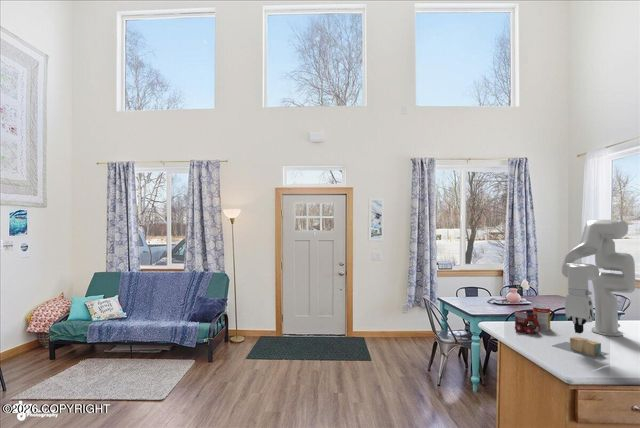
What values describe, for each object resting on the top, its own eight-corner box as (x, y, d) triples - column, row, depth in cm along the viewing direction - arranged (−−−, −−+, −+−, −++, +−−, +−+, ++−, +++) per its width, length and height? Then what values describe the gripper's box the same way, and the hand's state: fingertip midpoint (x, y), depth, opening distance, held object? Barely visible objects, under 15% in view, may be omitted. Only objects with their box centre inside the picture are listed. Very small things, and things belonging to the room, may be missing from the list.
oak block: (576, 336, 167) (601, 342, 158) (576, 347, 167) (601, 354, 158) (570, 337, 165) (595, 344, 156) (570, 348, 165) (595, 356, 156)
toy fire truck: (536, 336, 184) (536, 316, 184) (511, 330, 194) (511, 311, 194) (542, 334, 188) (542, 314, 188) (517, 328, 198) (517, 309, 198)
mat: (565, 342, 175) (565, 341, 175) (609, 354, 159) (609, 353, 159) (551, 346, 169) (551, 345, 169) (594, 359, 153) (594, 358, 153)
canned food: (547, 327, 200) (546, 305, 200) (552, 331, 192) (552, 308, 193) (531, 326, 202) (531, 304, 202) (536, 330, 194) (536, 308, 194)
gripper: (601, 294, 160) (602, 336, 159) (565, 288, 173) (566, 327, 172) (592, 296, 156) (592, 338, 156) (556, 290, 169) (557, 329, 169)
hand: (578, 332), depth 164 cm, fingers closed
